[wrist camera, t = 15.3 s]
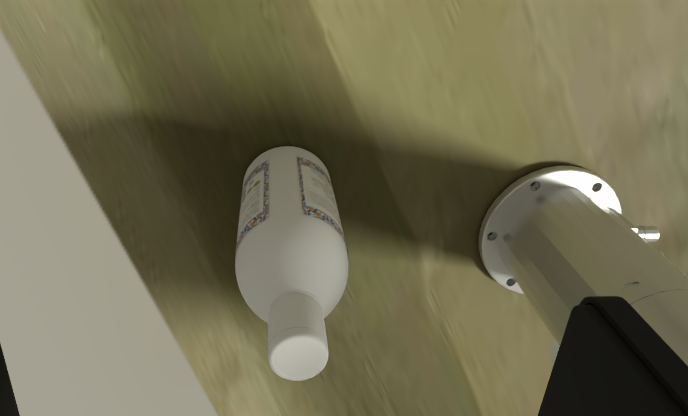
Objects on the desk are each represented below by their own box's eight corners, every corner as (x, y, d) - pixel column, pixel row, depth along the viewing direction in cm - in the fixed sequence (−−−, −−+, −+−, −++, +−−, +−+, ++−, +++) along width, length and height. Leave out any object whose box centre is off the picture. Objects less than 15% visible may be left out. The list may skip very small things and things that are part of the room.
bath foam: (249, 226, 45) (236, 420, 28) (237, 148, 42) (213, 310, 25) (333, 218, 46) (372, 402, 28) (327, 139, 43) (367, 292, 25)
